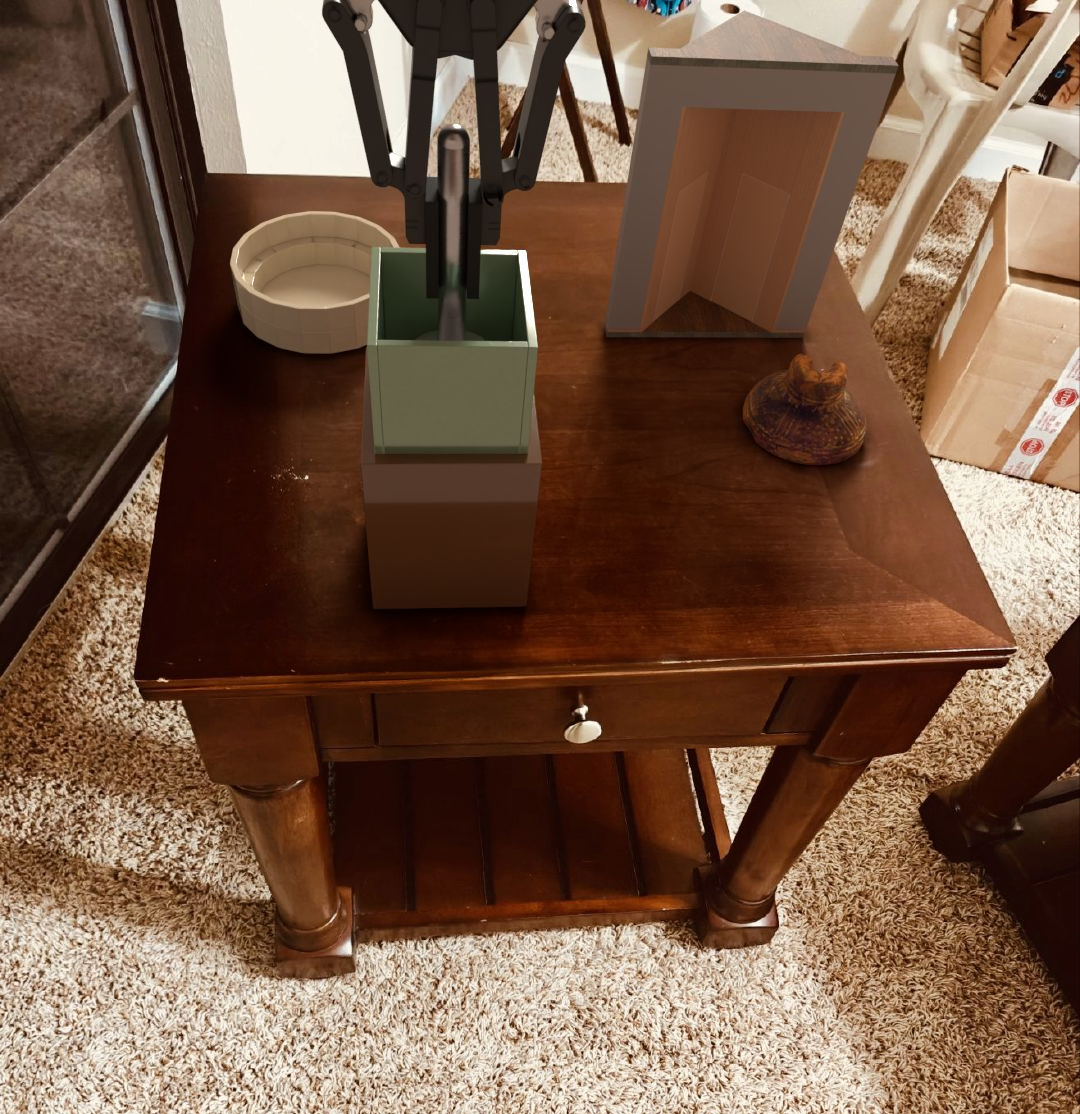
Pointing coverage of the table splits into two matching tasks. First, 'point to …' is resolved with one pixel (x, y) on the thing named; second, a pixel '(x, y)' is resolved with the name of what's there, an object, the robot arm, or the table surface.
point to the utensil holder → (450, 438)
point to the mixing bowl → (307, 280)
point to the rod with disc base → (452, 234)
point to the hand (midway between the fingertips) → (452, 284)
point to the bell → (806, 414)
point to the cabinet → (741, 180)
